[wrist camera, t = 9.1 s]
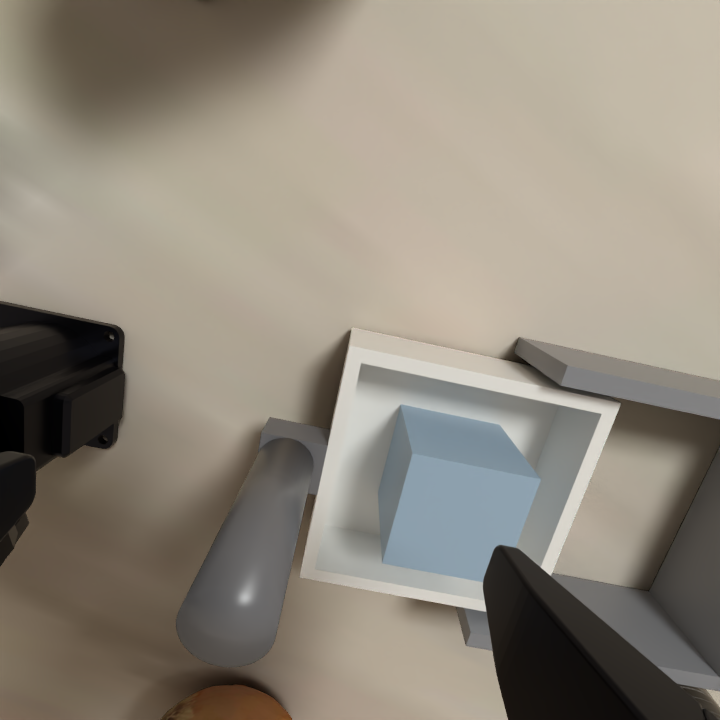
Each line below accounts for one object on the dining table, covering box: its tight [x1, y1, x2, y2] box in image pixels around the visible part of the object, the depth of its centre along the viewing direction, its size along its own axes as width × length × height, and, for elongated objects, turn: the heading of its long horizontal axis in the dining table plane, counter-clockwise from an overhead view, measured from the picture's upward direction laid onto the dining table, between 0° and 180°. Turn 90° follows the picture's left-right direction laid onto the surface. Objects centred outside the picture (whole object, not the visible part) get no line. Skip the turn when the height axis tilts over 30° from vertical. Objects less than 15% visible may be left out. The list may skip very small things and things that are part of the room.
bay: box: [456, 337, 720, 691], centre depth 20 cm, size 13×14×5 cm
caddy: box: [176, 327, 621, 667], centre depth 16 cm, size 14×11×12 cm
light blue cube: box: [378, 404, 541, 582], centre depth 19 cm, size 5×5×5 cm
